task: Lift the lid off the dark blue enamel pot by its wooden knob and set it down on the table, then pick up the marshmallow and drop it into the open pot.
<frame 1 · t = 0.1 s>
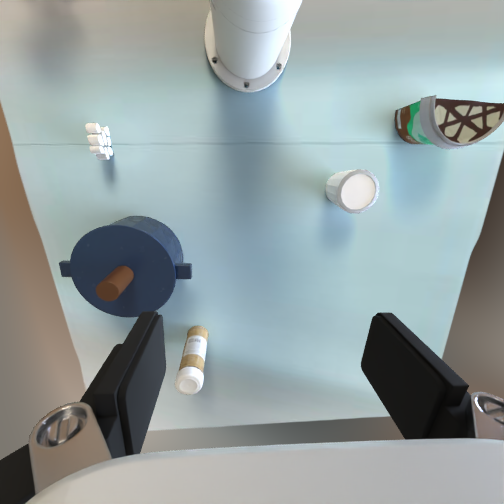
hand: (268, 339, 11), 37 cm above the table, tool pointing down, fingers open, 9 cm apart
food container: (416, 132, 44), on the table
pot lid: (125, 273, 39), point 8 cm above the table, touching pot
pot: (143, 254, 47), on the table
sprinkles bottle: (198, 333, 54), on the table
white cup: (339, 187, 46), on the table
marshmallow: (107, 143, 41), on the table
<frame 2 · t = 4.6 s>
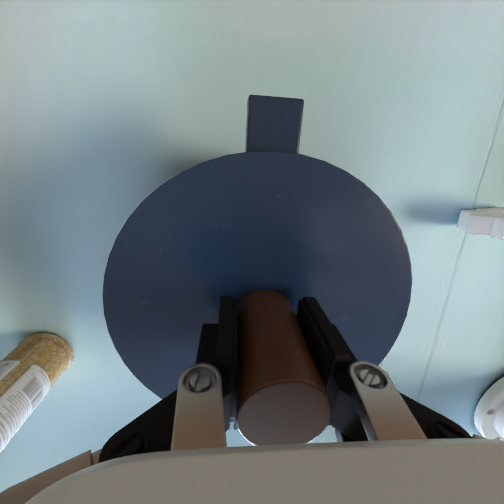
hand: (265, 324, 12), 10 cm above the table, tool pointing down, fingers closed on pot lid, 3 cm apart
pot lid: (262, 309, 13), point 9 cm above the table, touching gripper, pot
pot: (251, 254, 21), on the table
sprinkles bottle: (50, 349, 23), on the table
marshmallow: (470, 216, 22), on the table
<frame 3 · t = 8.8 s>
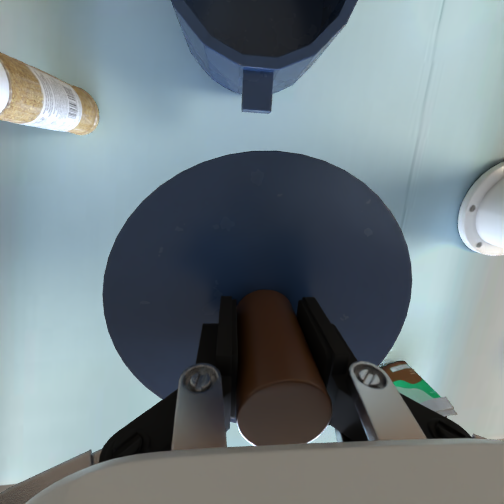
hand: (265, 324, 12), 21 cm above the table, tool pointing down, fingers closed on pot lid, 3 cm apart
food container: (379, 382, 43), on the table
pot lid: (262, 309, 13), point 19 cm above the table, touching gripper
pot: (255, 9, 24), on the table
sprinkles bottle: (79, 112, 26), on the table
when the fingers open (2 cm above the table, at t = 13.0 s): pot lid stays where it is, point 1 cm above the table.
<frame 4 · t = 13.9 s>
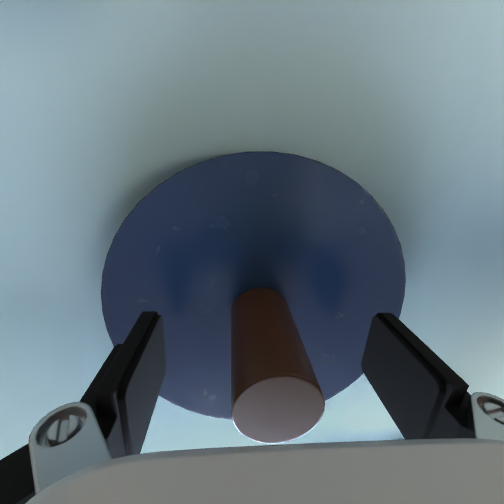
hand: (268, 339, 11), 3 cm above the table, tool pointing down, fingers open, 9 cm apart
pot lid: (258, 307, 13), point 1 cm above the table
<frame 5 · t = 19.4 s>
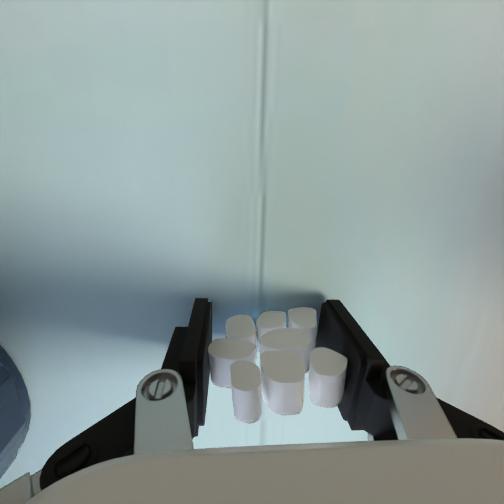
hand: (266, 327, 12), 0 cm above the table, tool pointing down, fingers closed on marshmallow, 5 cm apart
marshmallow: (264, 319, 12), on the table, touching gripper
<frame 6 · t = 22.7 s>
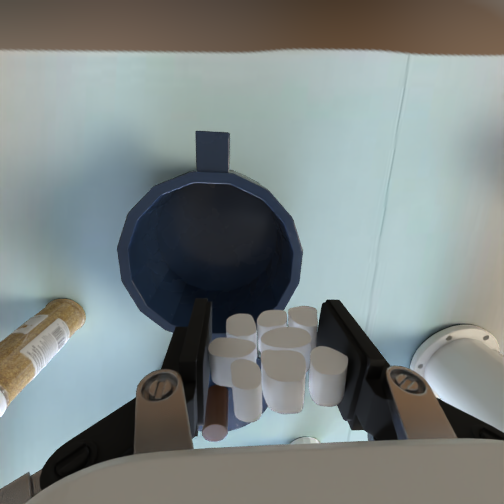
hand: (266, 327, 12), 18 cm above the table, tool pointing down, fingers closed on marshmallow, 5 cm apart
pot lid: (217, 389, 35), point 1 cm above the table
pot: (218, 237, 28), on the table
sprinkles bottle: (68, 312, 30), on the table
marshmallow: (265, 318, 12), point 17 cm above the table, touching gripper
when the fingers open (7 cm above the table, at t = 26.0 s): marshmallow drops 5 cm, resting on pot.
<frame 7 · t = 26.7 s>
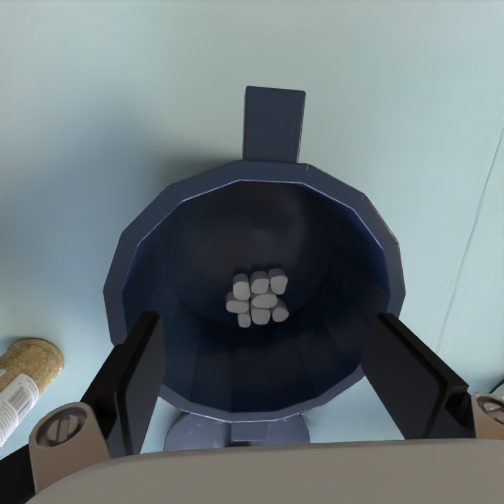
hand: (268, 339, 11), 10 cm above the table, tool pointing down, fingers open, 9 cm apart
pot lid: (238, 447, 27), point 1 cm above the table
pot: (249, 256, 20), on the table
sprinkles bottle: (40, 356, 22), on the table
marshmallow: (256, 270, 20), point 1 cm above the table, touching pot
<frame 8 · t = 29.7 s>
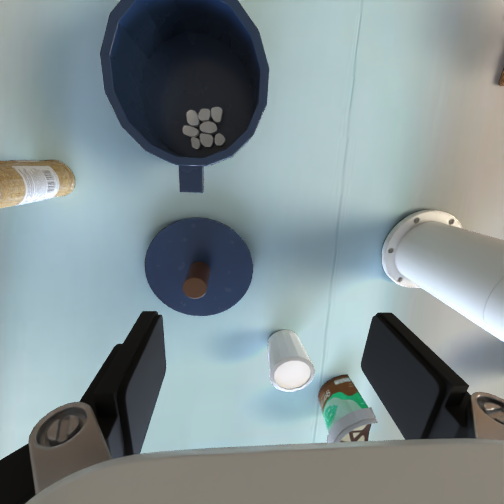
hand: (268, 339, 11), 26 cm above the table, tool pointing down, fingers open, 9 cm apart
food container: (327, 392, 49), on the table
pot lid: (200, 269, 37), point 1 cm above the table
pot: (199, 101, 30), on the table
sprinkles bottle: (59, 178, 32), on the table
white cup: (283, 342, 44), on the table
marshmallow: (202, 106, 30), point 1 cm above the table, touching pot
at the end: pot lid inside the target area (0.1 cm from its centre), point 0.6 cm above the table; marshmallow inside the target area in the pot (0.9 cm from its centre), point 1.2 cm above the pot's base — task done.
